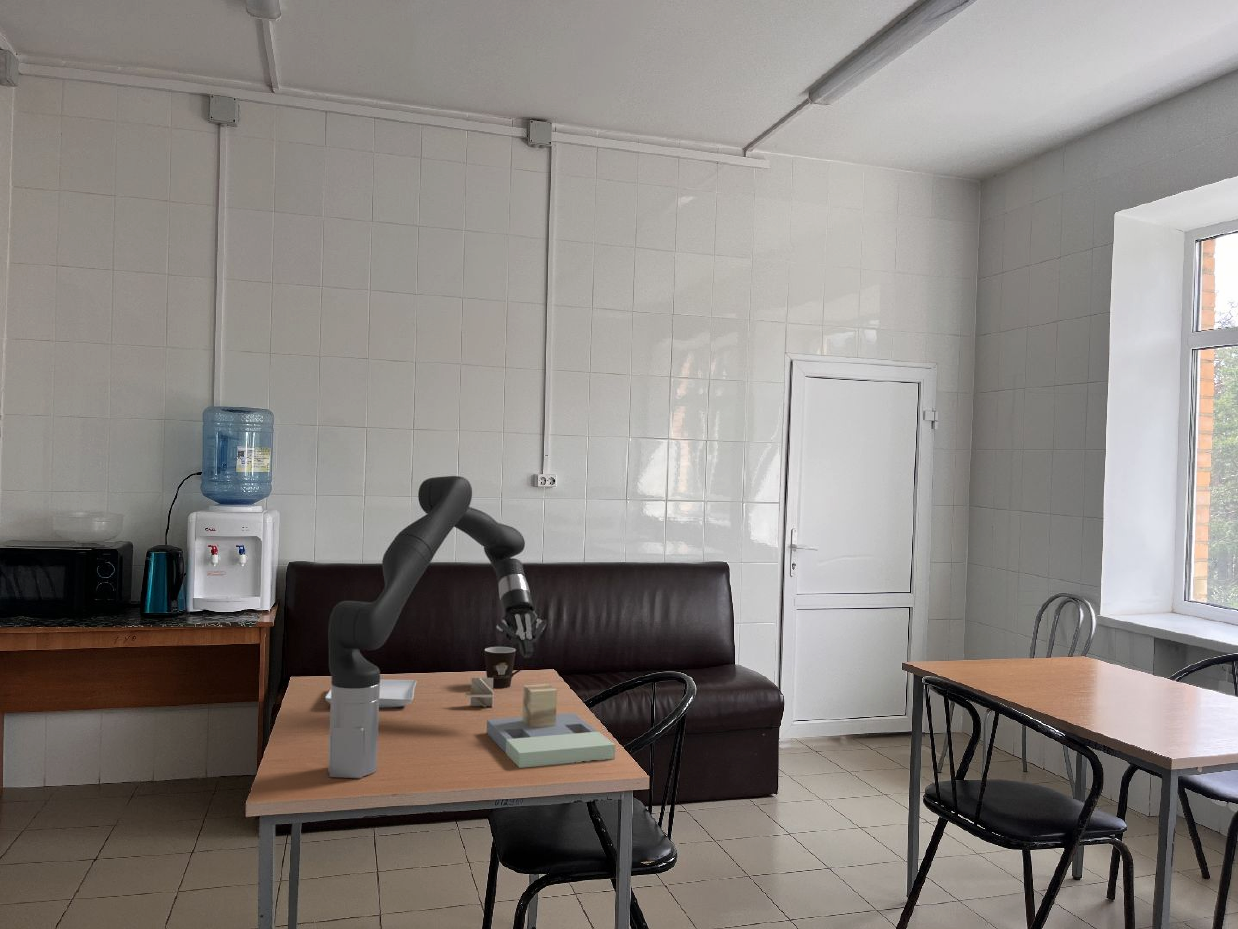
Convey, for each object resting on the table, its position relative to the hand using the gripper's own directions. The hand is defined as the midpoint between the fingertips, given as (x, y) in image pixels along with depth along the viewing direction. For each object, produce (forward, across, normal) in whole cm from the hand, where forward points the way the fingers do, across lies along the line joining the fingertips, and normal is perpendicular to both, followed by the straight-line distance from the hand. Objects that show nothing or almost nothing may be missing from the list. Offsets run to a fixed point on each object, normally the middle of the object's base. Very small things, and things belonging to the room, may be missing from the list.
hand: (528, 655), depth 218 cm
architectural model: (-2, -6, +26) cm, 26 cm away
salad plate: (-11, -31, +35) cm, 48 cm away
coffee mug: (-16, +6, +39) cm, 43 cm away
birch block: (+16, 0, +2) cm, 16 cm away
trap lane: (+23, 0, 0) cm, 23 cm away
